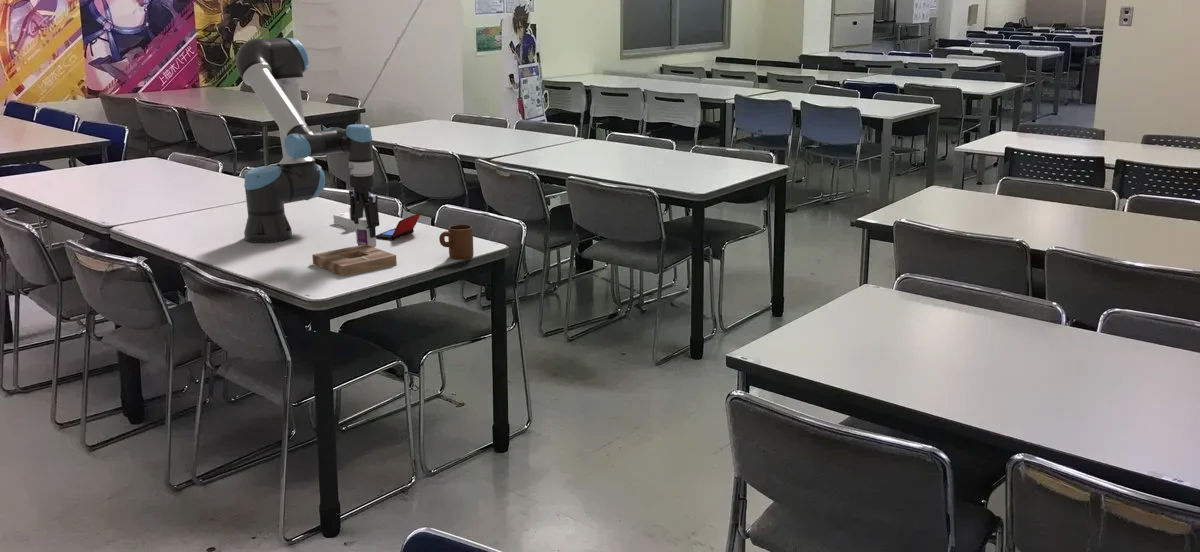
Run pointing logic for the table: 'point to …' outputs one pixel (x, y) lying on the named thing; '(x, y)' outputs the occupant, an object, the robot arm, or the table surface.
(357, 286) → the table surface
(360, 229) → the pill bottle
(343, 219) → the bracket
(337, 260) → the board
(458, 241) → the mug
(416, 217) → the handheld game console
